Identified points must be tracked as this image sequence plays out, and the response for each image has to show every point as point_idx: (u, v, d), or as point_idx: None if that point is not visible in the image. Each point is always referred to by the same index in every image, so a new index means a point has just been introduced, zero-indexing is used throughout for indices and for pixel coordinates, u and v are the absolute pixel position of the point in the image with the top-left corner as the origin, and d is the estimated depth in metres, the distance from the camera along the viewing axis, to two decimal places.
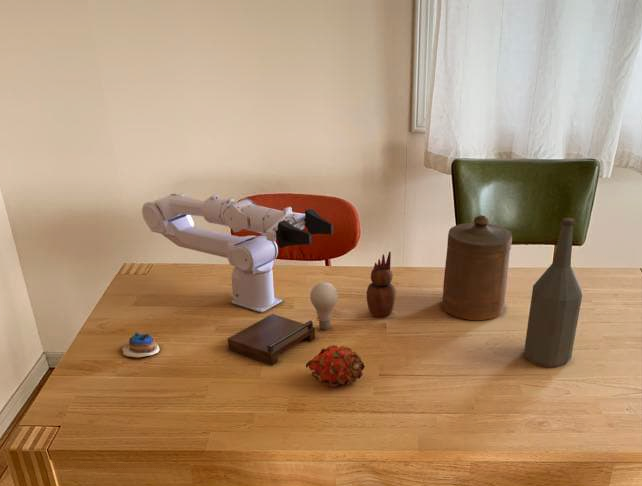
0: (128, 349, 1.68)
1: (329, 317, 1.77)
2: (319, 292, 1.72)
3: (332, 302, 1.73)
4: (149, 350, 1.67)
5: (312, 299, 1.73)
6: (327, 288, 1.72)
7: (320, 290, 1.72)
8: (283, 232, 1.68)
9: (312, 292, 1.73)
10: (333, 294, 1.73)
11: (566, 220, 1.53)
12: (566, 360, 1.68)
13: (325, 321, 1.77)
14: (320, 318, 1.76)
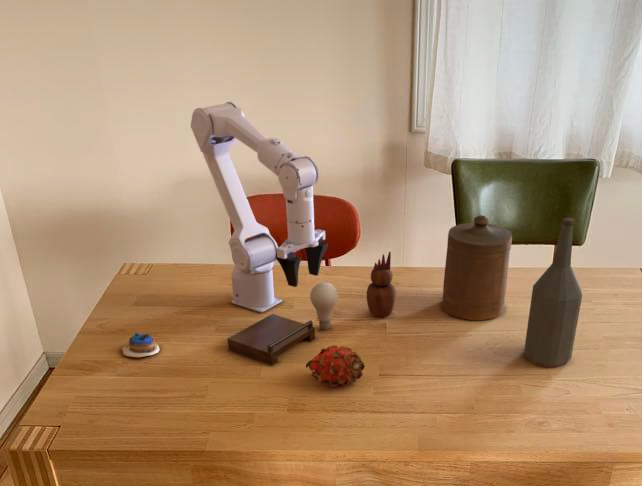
0: (128, 349, 1.68)
1: (329, 317, 1.77)
2: (319, 292, 1.72)
3: (332, 302, 1.73)
4: (149, 350, 1.67)
5: (312, 299, 1.73)
6: (327, 288, 1.72)
7: (320, 290, 1.72)
8: None
9: (312, 292, 1.73)
10: (333, 294, 1.73)
11: (566, 220, 1.53)
12: (566, 360, 1.68)
13: (325, 321, 1.77)
14: (320, 318, 1.76)
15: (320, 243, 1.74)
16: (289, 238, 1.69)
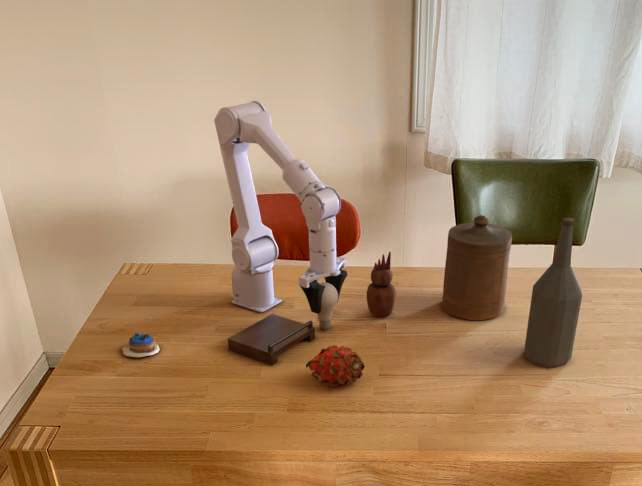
0: (128, 349, 1.68)
1: (329, 317, 1.77)
2: None
3: (333, 302, 1.73)
4: (149, 350, 1.67)
5: None
6: (327, 288, 1.72)
7: None
8: None
9: None
10: (334, 294, 1.73)
11: (566, 220, 1.53)
12: (566, 360, 1.68)
13: (325, 321, 1.77)
14: (320, 318, 1.77)
15: (340, 271, 1.74)
16: (311, 267, 1.69)
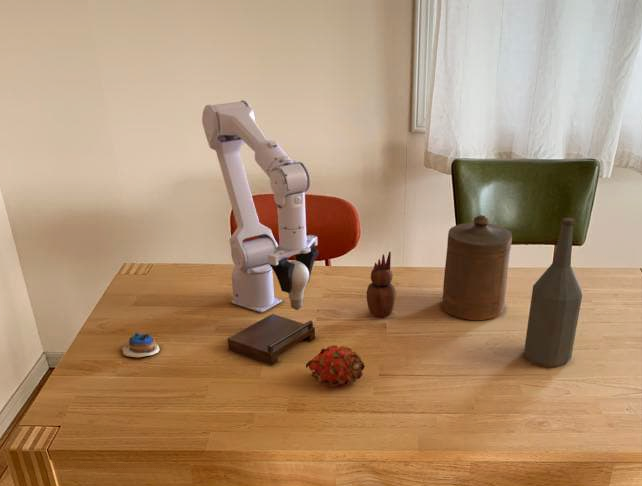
0: (128, 349, 1.68)
1: (300, 296, 1.73)
2: None
3: (303, 281, 1.70)
4: (149, 350, 1.67)
5: None
6: (297, 266, 1.69)
7: None
8: None
9: None
10: (304, 272, 1.69)
11: (566, 220, 1.53)
12: (566, 360, 1.68)
13: (296, 300, 1.73)
14: (291, 297, 1.73)
15: (311, 250, 1.71)
16: (281, 244, 1.66)
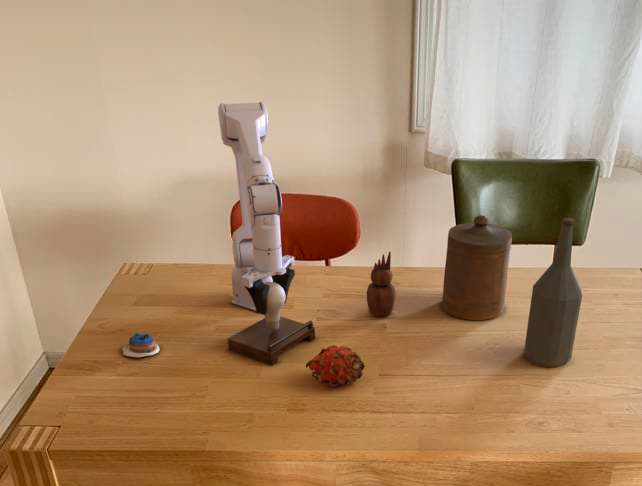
0: (128, 349, 1.68)
1: (277, 318, 1.69)
2: None
3: (279, 302, 1.65)
4: (149, 350, 1.67)
5: None
6: (273, 288, 1.64)
7: None
8: None
9: None
10: (280, 294, 1.65)
11: (566, 220, 1.53)
12: (566, 360, 1.68)
13: (273, 322, 1.69)
14: (267, 319, 1.69)
15: (287, 270, 1.67)
16: (255, 265, 1.61)
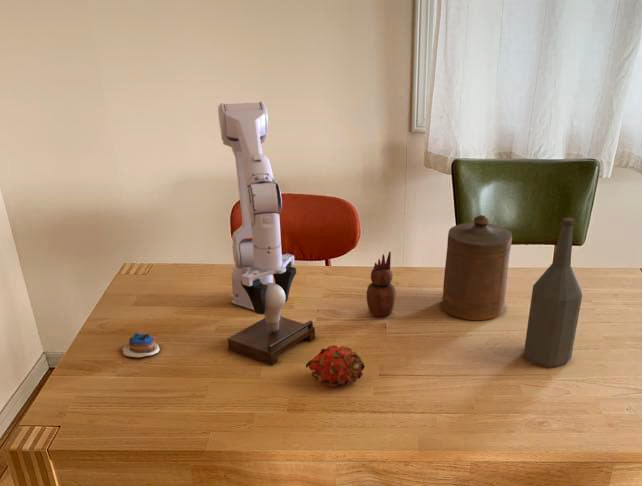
0: (128, 349, 1.68)
1: (277, 319, 1.69)
2: None
3: (279, 303, 1.66)
4: (149, 350, 1.67)
5: None
6: (273, 289, 1.64)
7: (266, 290, 1.64)
8: None
9: None
10: (280, 295, 1.65)
11: (566, 220, 1.53)
12: (566, 360, 1.68)
13: (273, 323, 1.69)
14: (267, 320, 1.69)
15: (289, 268, 1.67)
16: (255, 264, 1.61)
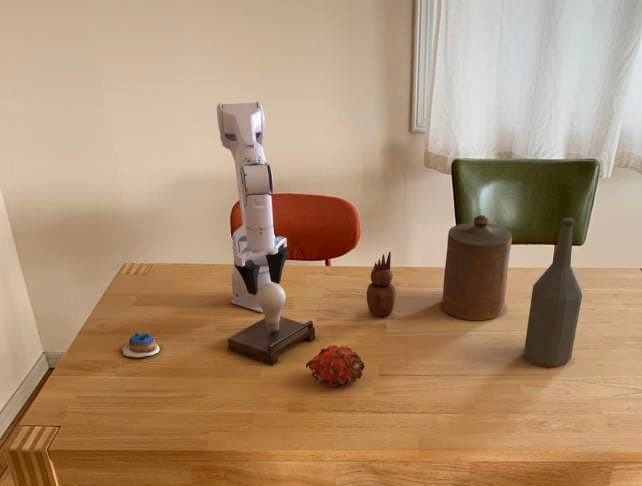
0: (128, 349, 1.68)
1: (277, 319, 1.69)
2: (265, 293, 1.64)
3: (279, 303, 1.66)
4: (149, 350, 1.67)
5: (258, 300, 1.66)
6: (273, 289, 1.64)
7: (266, 290, 1.64)
8: None
9: (258, 293, 1.65)
10: (280, 295, 1.65)
11: (566, 220, 1.53)
12: (566, 360, 1.68)
13: (273, 323, 1.69)
14: (267, 320, 1.69)
15: (281, 250, 1.70)
16: (248, 245, 1.65)
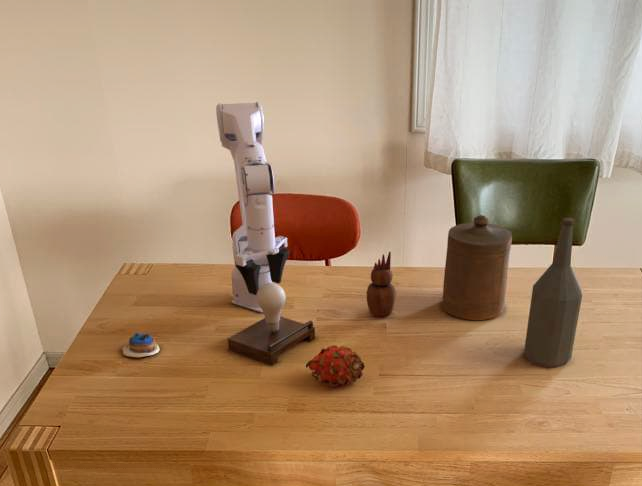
0: (128, 349, 1.68)
1: (277, 319, 1.69)
2: (265, 293, 1.64)
3: (279, 303, 1.66)
4: (149, 350, 1.67)
5: (258, 300, 1.66)
6: (273, 289, 1.64)
7: (266, 290, 1.64)
8: None
9: (258, 293, 1.65)
10: (280, 295, 1.65)
11: (566, 220, 1.53)
12: (566, 360, 1.68)
13: (273, 323, 1.69)
14: (267, 320, 1.69)
15: (282, 250, 1.70)
16: (249, 245, 1.65)
